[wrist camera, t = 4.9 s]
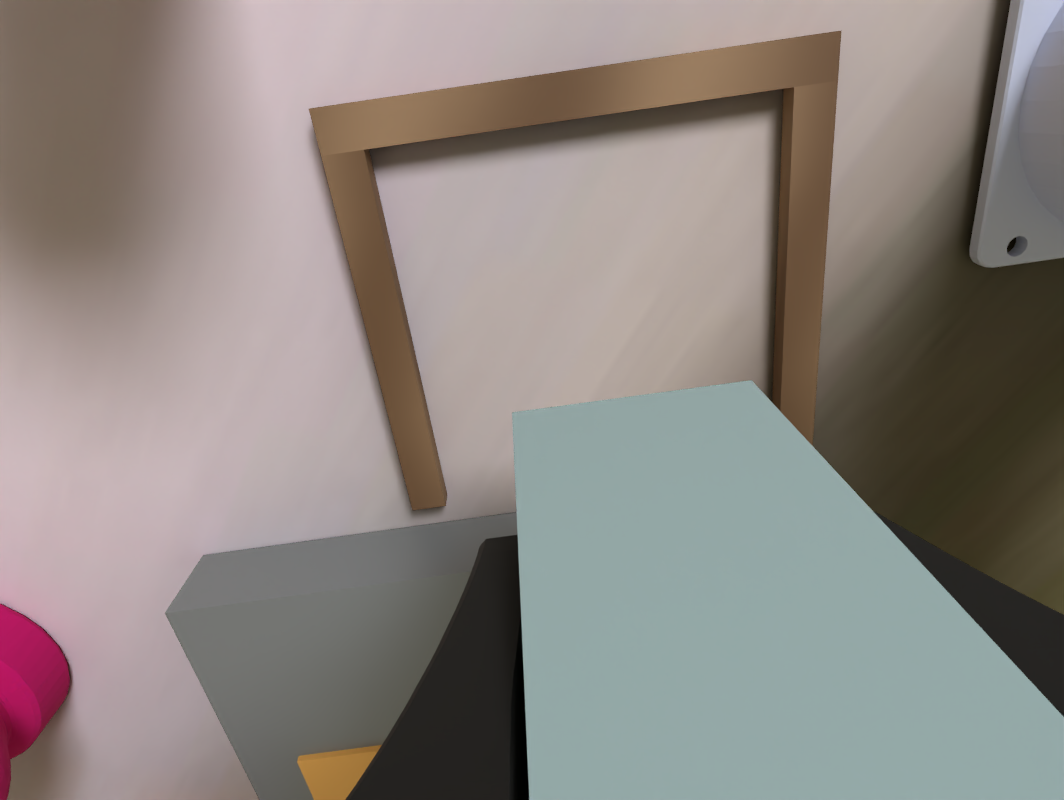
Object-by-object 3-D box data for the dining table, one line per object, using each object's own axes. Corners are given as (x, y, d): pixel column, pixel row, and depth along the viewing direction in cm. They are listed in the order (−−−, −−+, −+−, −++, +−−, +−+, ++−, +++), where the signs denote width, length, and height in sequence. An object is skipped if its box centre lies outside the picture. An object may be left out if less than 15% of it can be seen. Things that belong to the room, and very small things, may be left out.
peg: (751, 380, 10) (1150, 808, 4) (746, 569, 12) (1019, 1078, 6) (512, 412, 10) (533, 887, 4) (541, 596, 12) (587, 1132, 6)
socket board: (833, 468, 20) (880, 520, 17) (800, 847, 28) (829, 918, 26) (202, 555, 20) (161, 618, 17) (359, 904, 28) (346, 979, 26)
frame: (828, 33, 14) (841, 30, 14) (803, 445, 19) (811, 455, 19) (315, 108, 15) (308, 108, 14) (414, 499, 19) (412, 510, 19)
